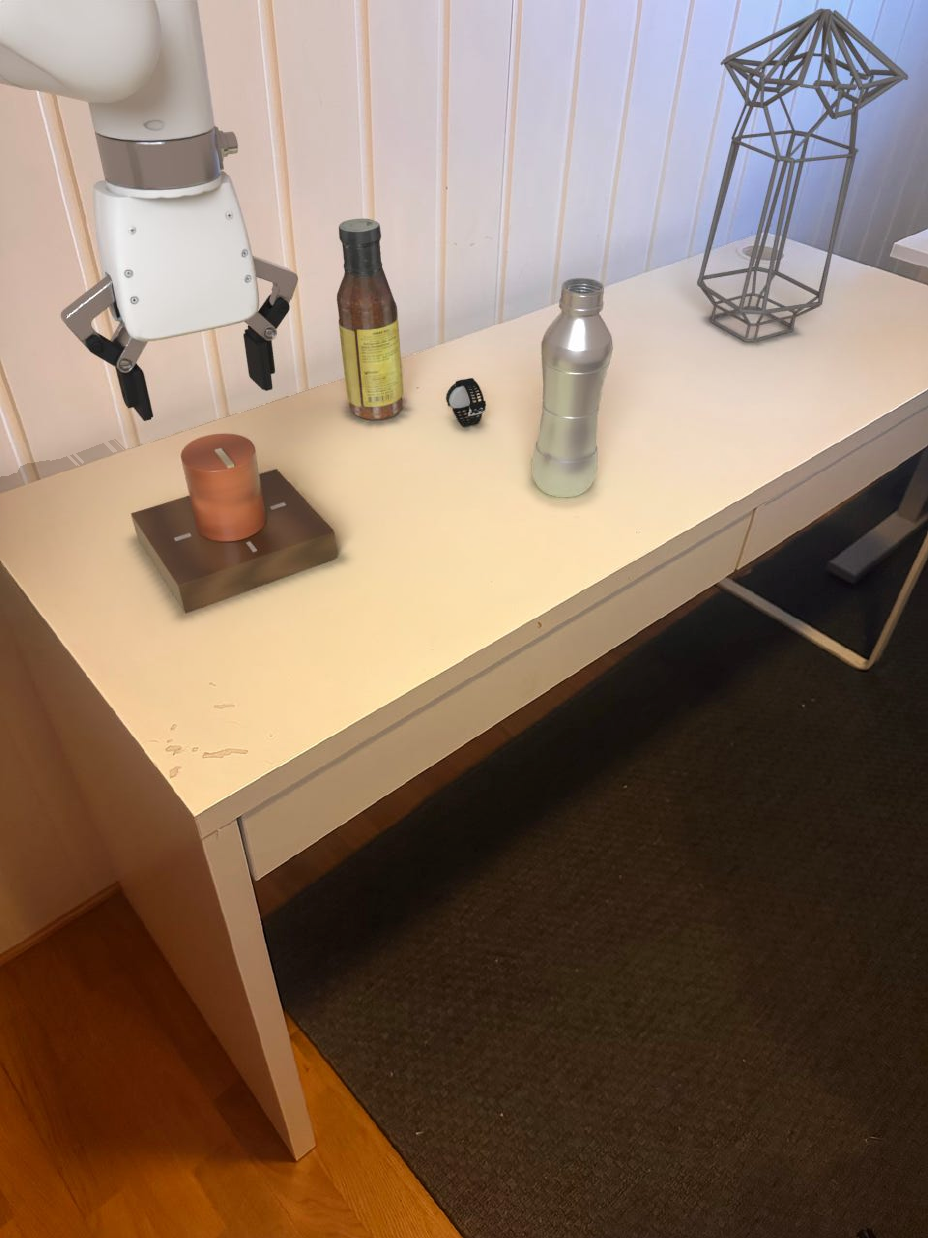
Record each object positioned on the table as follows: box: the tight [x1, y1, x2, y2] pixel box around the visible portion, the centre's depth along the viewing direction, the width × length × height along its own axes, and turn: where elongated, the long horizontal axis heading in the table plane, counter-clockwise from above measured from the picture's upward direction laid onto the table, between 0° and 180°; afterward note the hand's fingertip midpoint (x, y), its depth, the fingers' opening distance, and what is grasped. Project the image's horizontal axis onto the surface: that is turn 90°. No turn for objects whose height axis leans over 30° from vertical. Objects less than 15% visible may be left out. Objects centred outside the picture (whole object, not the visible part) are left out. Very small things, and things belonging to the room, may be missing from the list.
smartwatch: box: [445, 377, 487, 428], centre depth 96 cm, size 4×5×5 cm
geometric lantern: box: [696, 7, 909, 343], centre depth 107 cm, size 16×16×35 cm
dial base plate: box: [130, 468, 338, 614], centre depth 79 cm, size 14×12×3 cm
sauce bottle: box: [336, 218, 404, 421], centre depth 93 cm, size 7×6×20 cm
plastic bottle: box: [530, 277, 614, 498], centre depth 82 cm, size 6×7×20 cm
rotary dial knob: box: [180, 433, 266, 542], centre depth 76 cm, size 6×6×7 cm
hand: (203, 398), depth 70 cm, fingers open, 9 cm apart
